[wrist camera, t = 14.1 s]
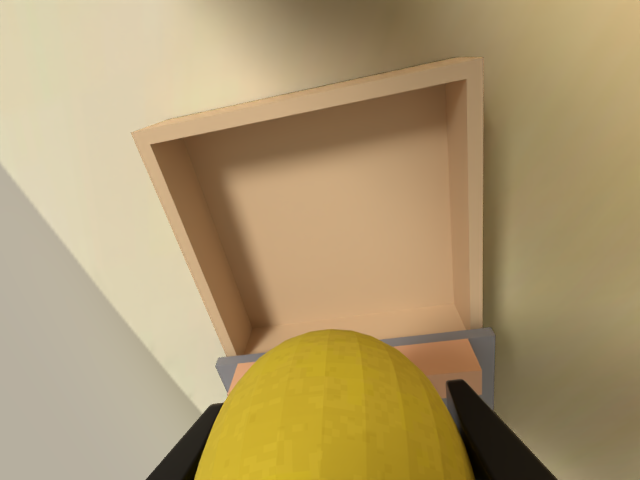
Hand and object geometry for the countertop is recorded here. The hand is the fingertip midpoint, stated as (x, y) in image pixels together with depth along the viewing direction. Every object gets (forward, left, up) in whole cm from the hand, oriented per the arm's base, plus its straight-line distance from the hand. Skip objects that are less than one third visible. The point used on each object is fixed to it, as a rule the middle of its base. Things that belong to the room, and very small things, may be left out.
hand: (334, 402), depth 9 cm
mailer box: (0, 0, -12) cm, 12 cm away
